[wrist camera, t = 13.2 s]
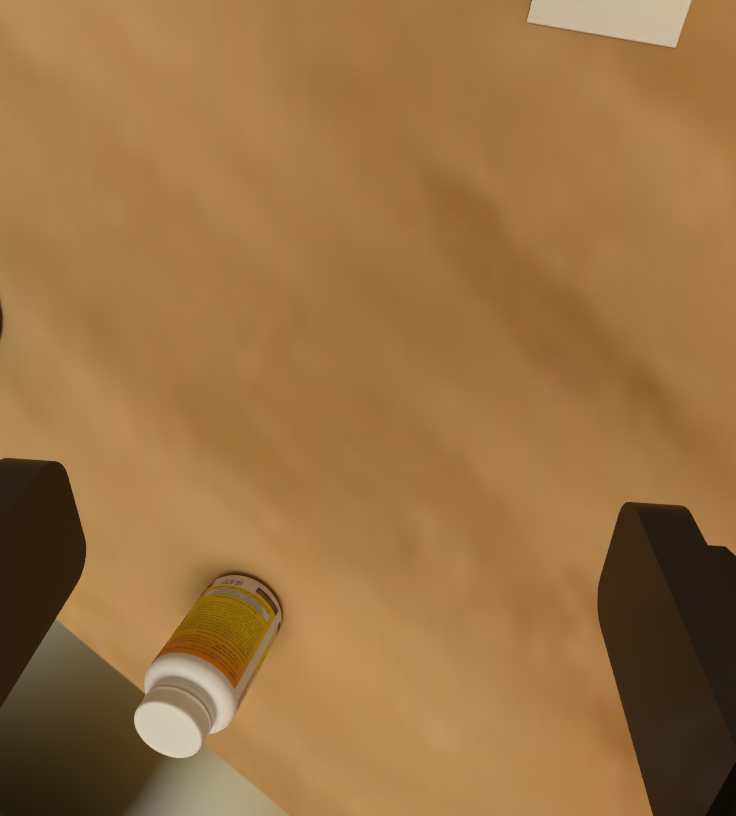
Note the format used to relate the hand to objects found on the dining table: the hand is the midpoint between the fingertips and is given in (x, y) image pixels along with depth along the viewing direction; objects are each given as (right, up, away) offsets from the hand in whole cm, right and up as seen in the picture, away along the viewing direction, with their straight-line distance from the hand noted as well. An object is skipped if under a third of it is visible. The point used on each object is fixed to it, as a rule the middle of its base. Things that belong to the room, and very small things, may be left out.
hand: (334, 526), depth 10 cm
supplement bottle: (-8, -11, +34) cm, 37 cm away
